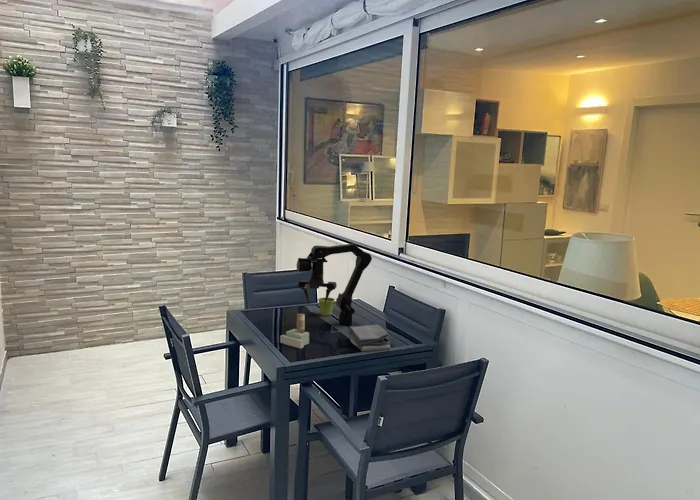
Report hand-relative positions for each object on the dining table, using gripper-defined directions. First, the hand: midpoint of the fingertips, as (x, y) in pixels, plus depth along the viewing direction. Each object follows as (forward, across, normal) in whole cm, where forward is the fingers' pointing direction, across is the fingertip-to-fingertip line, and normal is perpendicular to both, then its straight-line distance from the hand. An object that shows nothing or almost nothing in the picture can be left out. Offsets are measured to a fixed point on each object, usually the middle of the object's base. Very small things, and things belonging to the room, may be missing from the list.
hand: (317, 301), depth 254 cm
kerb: (+13, -4, -31) cm, 34 cm away
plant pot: (+13, 0, +22) cm, 26 cm away
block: (+13, -2, -27) cm, 30 cm away
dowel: (+13, -2, -25) cm, 29 cm away
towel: (+14, +30, -21) cm, 38 cm away
